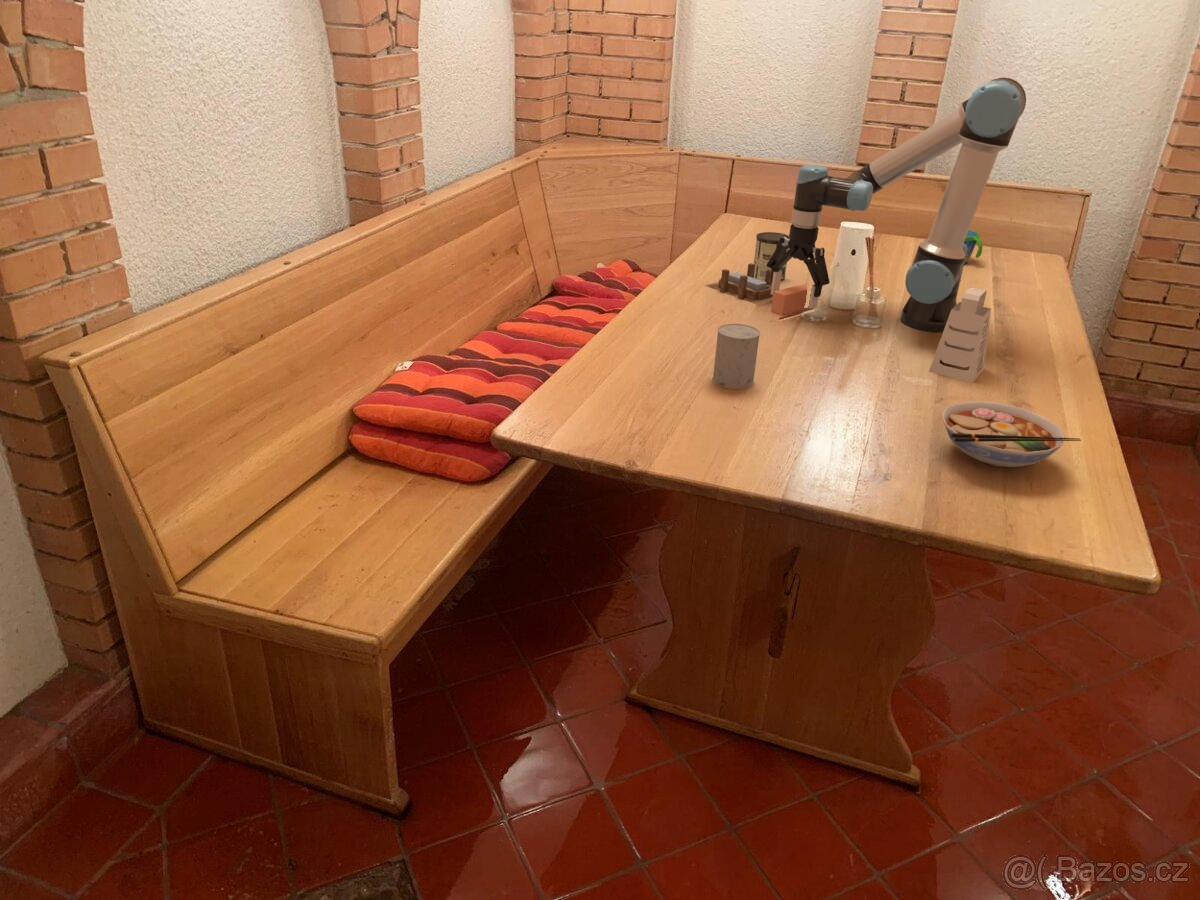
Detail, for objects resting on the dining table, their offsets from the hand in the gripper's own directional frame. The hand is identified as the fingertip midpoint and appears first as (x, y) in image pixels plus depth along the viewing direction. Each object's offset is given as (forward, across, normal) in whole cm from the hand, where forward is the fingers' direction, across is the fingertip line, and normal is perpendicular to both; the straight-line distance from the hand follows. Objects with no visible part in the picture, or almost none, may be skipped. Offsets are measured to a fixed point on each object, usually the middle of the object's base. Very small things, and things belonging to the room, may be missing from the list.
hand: (793, 300), depth 255 cm
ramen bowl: (+3, -81, +35) cm, 89 cm away
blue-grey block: (+2, +18, 0) cm, 18 cm away
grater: (+3, -51, -1) cm, 51 cm away
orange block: (+4, 0, 0) cm, 4 cm away
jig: (+4, +18, 0) cm, 18 cm away
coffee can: (+4, +24, -17) cm, 29 cm away
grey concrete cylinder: (+4, -24, +50) cm, 56 cm away
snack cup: (+3, +3, -90) cm, 91 cm away
